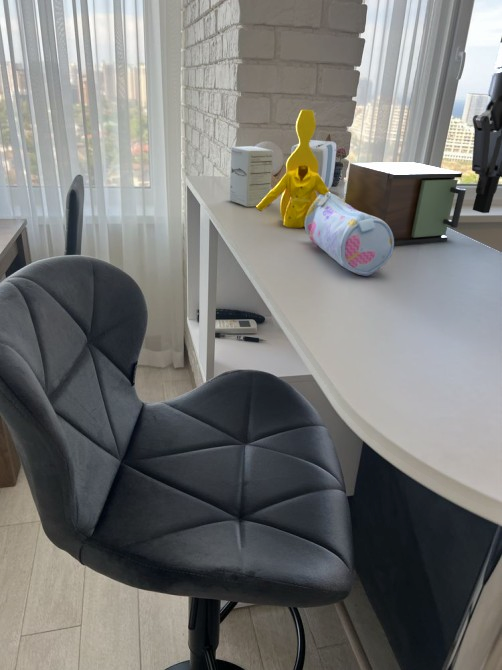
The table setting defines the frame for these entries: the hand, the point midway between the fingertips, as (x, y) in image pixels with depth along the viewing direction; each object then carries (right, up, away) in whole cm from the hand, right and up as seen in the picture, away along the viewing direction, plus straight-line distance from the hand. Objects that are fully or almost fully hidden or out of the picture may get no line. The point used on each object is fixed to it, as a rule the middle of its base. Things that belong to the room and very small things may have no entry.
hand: (480, 211), depth 96 cm
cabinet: (-15, -3, +6) cm, 17 cm away
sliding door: (-9, -5, 0) cm, 10 cm away
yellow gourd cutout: (-28, +14, +39) cm, 50 cm away
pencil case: (-28, -11, -10) cm, 32 cm away
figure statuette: (-34, -1, +10) cm, 36 cm away
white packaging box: (-44, +8, +26) cm, 52 cm away
